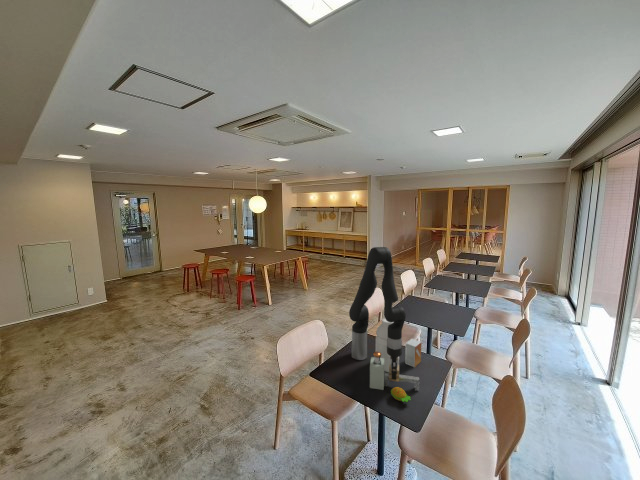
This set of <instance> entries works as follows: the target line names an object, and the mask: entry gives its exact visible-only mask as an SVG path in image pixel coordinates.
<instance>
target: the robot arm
mask: <svg viewBox="0 0 640 480" xmlns="http://www.w3.org/2000/svg"><path fill="white" fill-rule="evenodd" d="M366 259H367V260H366V263H365V268H364V272H363V275H362V277H361V280H360V283H359V286H358V290H357V291H356V296H355V297H354V300H353V302H352V303H351V306H350V308H349V311H348V313H349V314H348V315H349V319H350V320H351V321H352V322H354V323H353V324H352V325H351V358H352V359H355V360H357V361H364V360H365V359H367V358H368V327H369V318H370V317H369V316H370V313H369V312H370V311H369V308H368V306H367V305H366V303H367V302H368V301H369V300H370V299H371V297H373V295H374V293H375V291H376V288H377V286H378V281H377V276H376V273H375V271H376V268H377V266H378V265H383V269H384V270H383V271H384V273H383V278H382V282H381V292H382V296H383V304H384V307H383V315H384V318H385V319H386V320H387V321H388V322H394V323H392V324H390V325H389V326H388V336H387V354H388V355H390V361H391V368H392V371H391V373H392V379H393V380H396V374H397V368H398V357H399V358H400V357H401V356H402V354H403V339H402V338H403V336H402V335H403V334H402V333H403V328H404V325H405V321H406V318H407V317H406V315H407V313H406V310H405V309H404V307H402V306H395V307H394V306H393V304H394V303H396V302H398V301H399V297H398V293H397V288H396V284H395V279H394V278H395V277H394V267H393V256H392V252H391V249H389V247H386V246H373V247H372V248H370V249H369V251H368V254H367V258H366ZM395 370H396V371H395Z"/></svg>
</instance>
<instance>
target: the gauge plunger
mask: <svg viewBox="0 0 640 480" xmlns="http://www.w3.org/2000/svg"><path fill="white" fill-rule="evenodd" d="M373 357H374V364H377V365H380V357H381V353H380V352H378V351H376V352H375V351H374V352H373Z"/></svg>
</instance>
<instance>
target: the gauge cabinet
mask: <svg viewBox="0 0 640 480" xmlns="http://www.w3.org/2000/svg"><path fill="white" fill-rule="evenodd" d="M369 363H370V364H369V389H376V390H381V391H385V390H384V388H385V386H384V373H385V371H384V358H380V365H377V364H374V356H371V357H370V362H369Z"/></svg>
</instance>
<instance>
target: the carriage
mask: <svg viewBox="0 0 640 480" xmlns="http://www.w3.org/2000/svg"><path fill="white" fill-rule="evenodd" d="M391 371H392V368H391V364H389V372H388V373H389V379H388V382H389V381H390V382H391V381H392V382H398V383H399V382H400V381H399V375H400V364H399V365H398V368H397V374H396V380H393V379H392V373H391ZM395 371H396V370H395Z"/></svg>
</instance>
